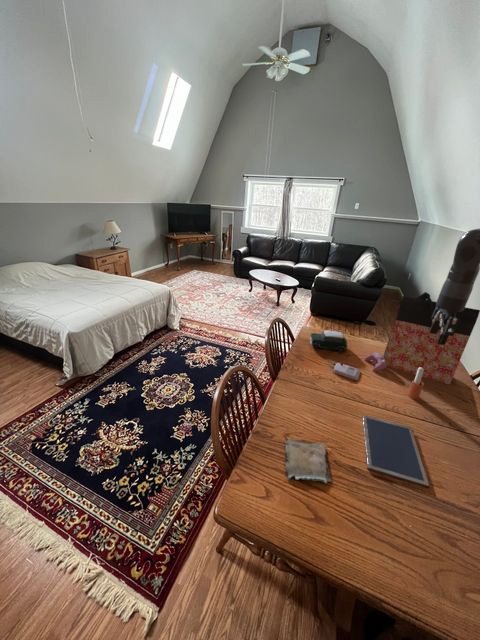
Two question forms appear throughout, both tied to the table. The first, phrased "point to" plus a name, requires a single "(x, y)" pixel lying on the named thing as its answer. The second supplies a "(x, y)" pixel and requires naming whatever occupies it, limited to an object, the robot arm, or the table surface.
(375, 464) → the tablet
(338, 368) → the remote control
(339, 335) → the miniature car
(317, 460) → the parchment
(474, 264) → the robot arm
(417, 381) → the stylus
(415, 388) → the pen cup
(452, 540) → the table surface
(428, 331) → the gift bag
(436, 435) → the table surface
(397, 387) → the table surface
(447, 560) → the table surface
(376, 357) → the video game controller
